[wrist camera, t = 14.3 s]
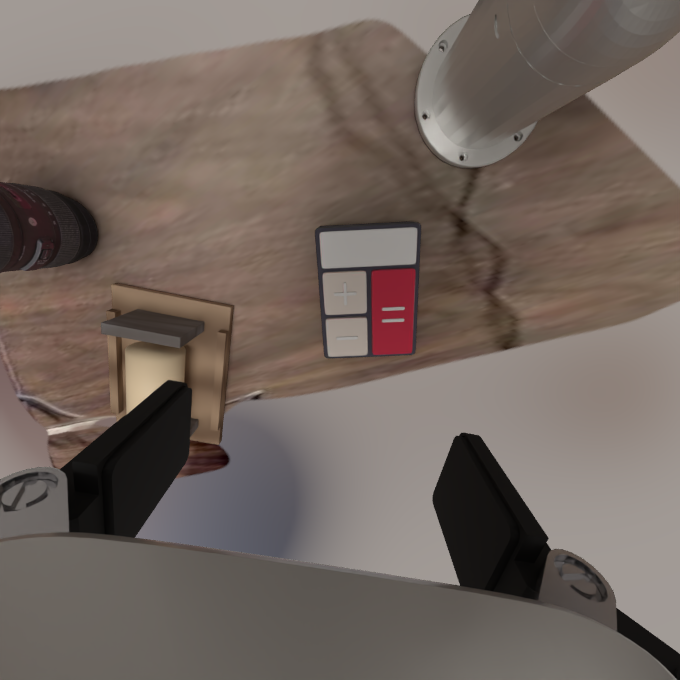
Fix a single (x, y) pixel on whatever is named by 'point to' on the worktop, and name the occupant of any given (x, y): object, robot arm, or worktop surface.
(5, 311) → the worktop surface
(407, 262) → the calculator
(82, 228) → the camera lens
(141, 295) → the roll holder
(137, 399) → the beige cylinder
